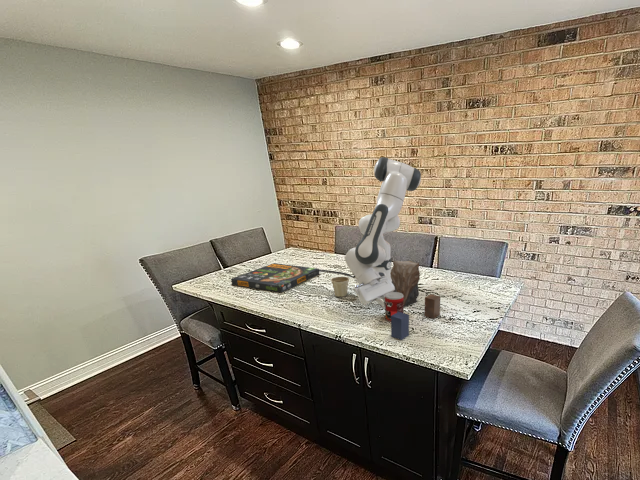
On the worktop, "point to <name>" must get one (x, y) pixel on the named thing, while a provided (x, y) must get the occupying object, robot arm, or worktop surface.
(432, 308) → the walnut block
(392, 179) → the robot arm
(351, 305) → the worktop surface
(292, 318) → the worktop surface
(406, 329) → the blue block
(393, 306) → the canned food
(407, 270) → the owl
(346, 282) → the flower pot
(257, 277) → the pizza box
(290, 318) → the worktop surface
